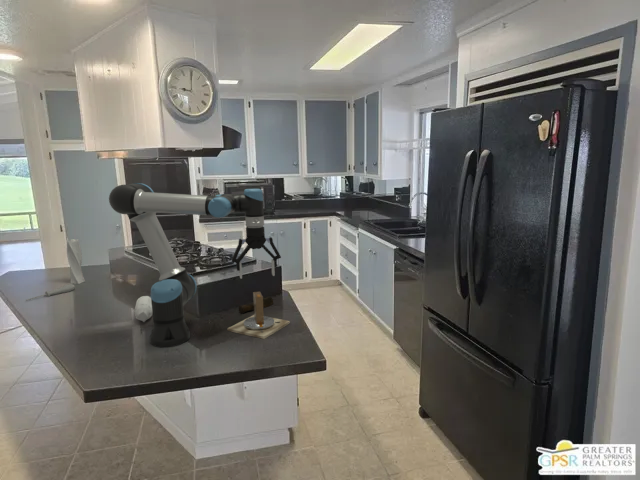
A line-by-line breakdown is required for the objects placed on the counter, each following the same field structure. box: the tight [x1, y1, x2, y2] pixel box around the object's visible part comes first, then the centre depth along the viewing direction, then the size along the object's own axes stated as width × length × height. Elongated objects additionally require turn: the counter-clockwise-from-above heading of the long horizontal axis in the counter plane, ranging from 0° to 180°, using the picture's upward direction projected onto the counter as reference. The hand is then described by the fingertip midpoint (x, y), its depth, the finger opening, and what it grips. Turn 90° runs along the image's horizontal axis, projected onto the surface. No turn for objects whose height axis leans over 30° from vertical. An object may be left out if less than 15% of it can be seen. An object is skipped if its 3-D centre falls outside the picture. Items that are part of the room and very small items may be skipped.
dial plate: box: [226, 314, 291, 340], centre depth 184 cm, size 19×19×1 cm
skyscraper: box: [66, 236, 86, 285], centre depth 256 cm, size 8×8×28 cm
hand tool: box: [238, 296, 274, 314], centre depth 207 cm, size 19×4×5 cm, turn 130°
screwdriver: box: [25, 283, 76, 301], centre depth 233 cm, size 5×25×4 cm, turn 145°
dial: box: [244, 291, 274, 330], centre depth 182 cm, size 13×13×14 cm
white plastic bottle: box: [133, 295, 153, 323], centre depth 196 cm, size 8×19×8 cm, turn 19°
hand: (257, 276), depth 180 cm, fingers open, 13 cm apart
